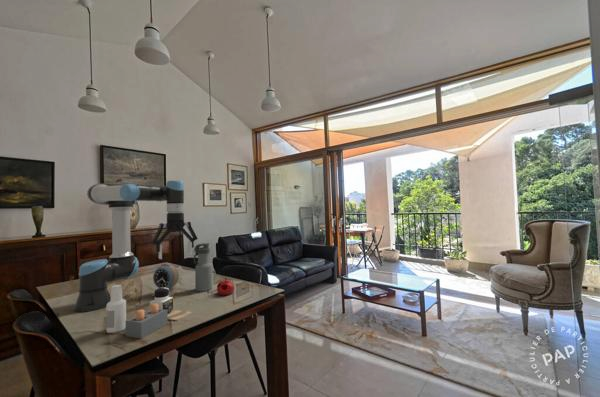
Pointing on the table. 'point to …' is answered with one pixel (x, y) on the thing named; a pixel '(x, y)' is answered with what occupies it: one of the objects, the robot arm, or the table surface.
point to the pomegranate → (225, 287)
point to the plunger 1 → (139, 315)
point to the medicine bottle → (163, 300)
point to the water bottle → (203, 268)
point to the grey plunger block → (146, 324)
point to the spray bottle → (116, 311)
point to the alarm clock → (166, 278)
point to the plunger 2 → (154, 308)
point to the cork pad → (177, 315)
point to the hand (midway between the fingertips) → (175, 256)
